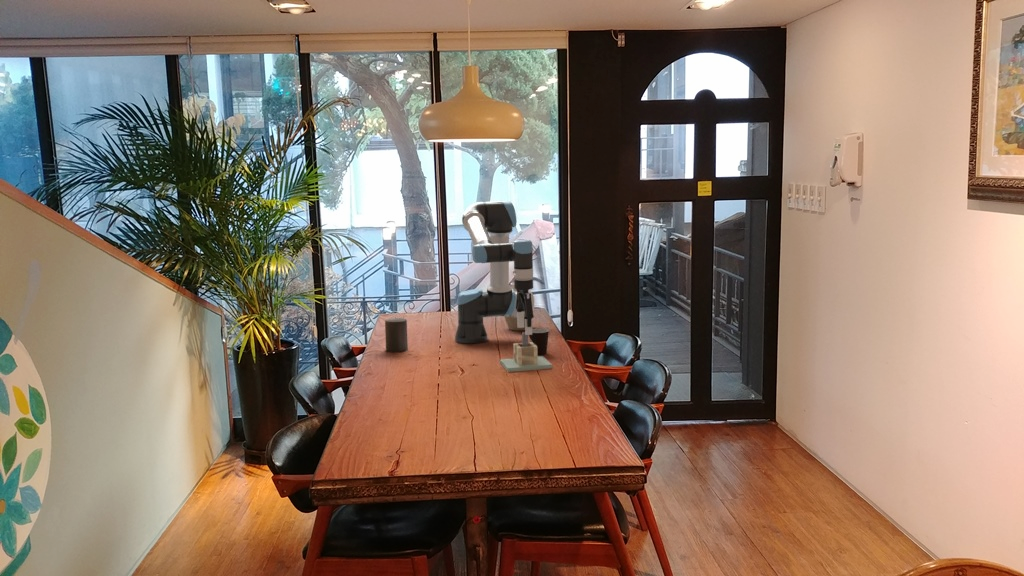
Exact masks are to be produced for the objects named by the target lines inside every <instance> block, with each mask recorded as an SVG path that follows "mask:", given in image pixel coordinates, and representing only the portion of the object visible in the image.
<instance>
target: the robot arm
mask: <svg viewBox="0 0 1024 576" xmlns="http://www.w3.org/2000/svg"><path fill="white" fill-rule="evenodd" d="M461 221H462V225H463V228H464V230H466V231H467V232H468V234H469V236H470V239H471V241H472V244H473V246H472V248H471V255H472V261H473V262H474V263H475V264H487V263H488V264H490V265H489V267H490V268H489V269H490V270H489V273H490V274H489V277H490V278H489V279H490V280H489V285H488V286H487V287H486V291H484V292H483V290H482V289H480V288H476V289H469V290H463V291H462V292H460V293H458V294H457V301H456V302H457V303H456V305H457V328H456V331H455V335H454V341H455V342H456V343H459V344H480V343H483V342H486V341H487V342H488V338H489V337H488V333H487V329H486V327H485V325H484V318H490V317H491V318H492V317H504V316H507V315H511V314H512V313H513V312H514V309H515V304H516V309H517V328H524V319H525V330H524V332H525V335H528V336H529V335H532V329H533V319H534V317H535V316H534V312H533V308H532V301H531V293H529V291H528V290H532V289H534V280H533V278H534V263H533V261H534V260H533V255H534V254H533V252H534V248H533V241H531V240H530V239H517V240H514V241H512V242H510V235H511V233H512V232H513V228H516V227H517V213H516V210H515V206H514V204H513V203H512V202H511V201H509V200H507V201H505V200H498V201H497V200H496V201H494V200H493V201H477V202H474V203H472V204H471V205H469V206H468V207H467V208H466V209H465V211H464V213H463V214H462V219H461ZM510 262H513V269H514V271H512V274H514V275H513V276H514V277H513V278H514V280H513V282H514V288H515V289H517V299H515V298H516V295H515V292H514V291H513V290H512V286H511V284H510V283H509V281H510V279H509V278H510V272H509V271H510ZM522 311H525V317H524V312H522Z"/></svg>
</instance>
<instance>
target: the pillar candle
mask: <svg viewBox="0 0 1024 576" xmlns="http://www.w3.org/2000/svg"><path fill="white" fill-rule="evenodd" d="M384 322H385V323H384V327H385V329H384V331H385V332H384V334H385V335H384V336H385V351H386V352H387V353H388V352H389V353H400V352H401V353H402V352H405V351H408V348H409V347H408V346H409V345H408V344H409V343H408V342H409V341H408V321H407V318H404V317H403V318H402V317H396V316H394V317H393V318H392V317H391V318H387V319H385V320H384Z"/></svg>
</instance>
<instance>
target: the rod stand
mask: <svg viewBox="0 0 1024 576" xmlns="http://www.w3.org/2000/svg"><path fill="white" fill-rule="evenodd" d="M521 343H522V347H526V346H528V343H529V335H525V331H524V332H521ZM499 363H500V365H501V364H502V365H501V366H502V367H503V368H504V369H505V371H506V372H508V373H511V372H523V371H536V370H537V371H538V370H548V369H549V370H550V369H553V364H552V363H551V362H550V361H549V360H548V359H547V358H546V357H544V355H538V364H526V365H518V364H517V363H516V362H515V361H514V357H513V358H503V359H501V358H500V359H499Z"/></svg>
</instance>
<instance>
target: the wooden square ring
mask: <svg viewBox="0 0 1024 576" xmlns="http://www.w3.org/2000/svg"><path fill="white" fill-rule="evenodd" d="M512 347H513V358H514V361H515V362H516V363H517V364H518V365H526V364H538V356H539V355H538V353H537V346H536V345H535V344H534V343H533V342H528V346H526V347H522V342H519V343H513V346H512Z"/></svg>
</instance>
